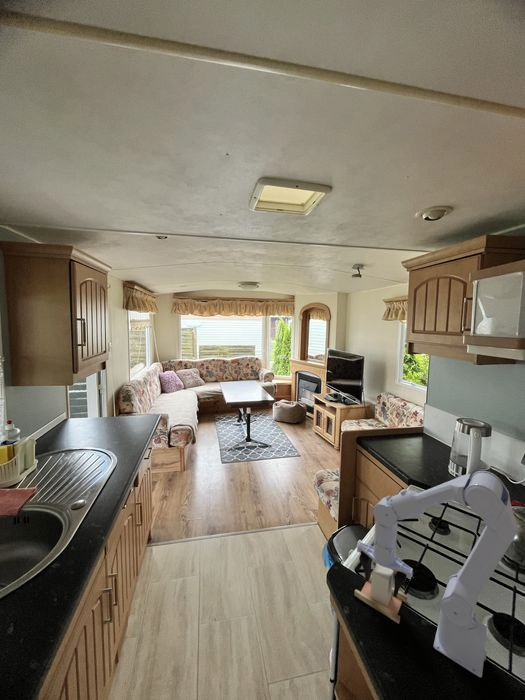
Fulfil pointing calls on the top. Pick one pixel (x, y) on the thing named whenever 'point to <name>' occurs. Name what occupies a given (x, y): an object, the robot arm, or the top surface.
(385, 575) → the peg
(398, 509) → the robot arm
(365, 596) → the tray
